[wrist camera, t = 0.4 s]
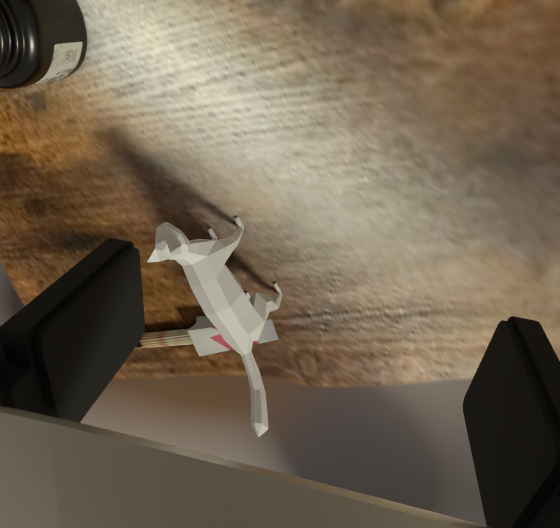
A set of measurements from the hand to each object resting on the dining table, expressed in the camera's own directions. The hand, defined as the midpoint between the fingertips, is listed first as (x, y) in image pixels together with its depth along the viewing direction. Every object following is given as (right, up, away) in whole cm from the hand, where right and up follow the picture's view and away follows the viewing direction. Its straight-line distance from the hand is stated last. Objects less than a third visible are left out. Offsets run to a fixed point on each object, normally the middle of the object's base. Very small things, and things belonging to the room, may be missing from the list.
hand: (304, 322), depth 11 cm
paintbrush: (-10, -6, +41) cm, 43 cm away
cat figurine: (-4, +1, +35) cm, 35 cm away
